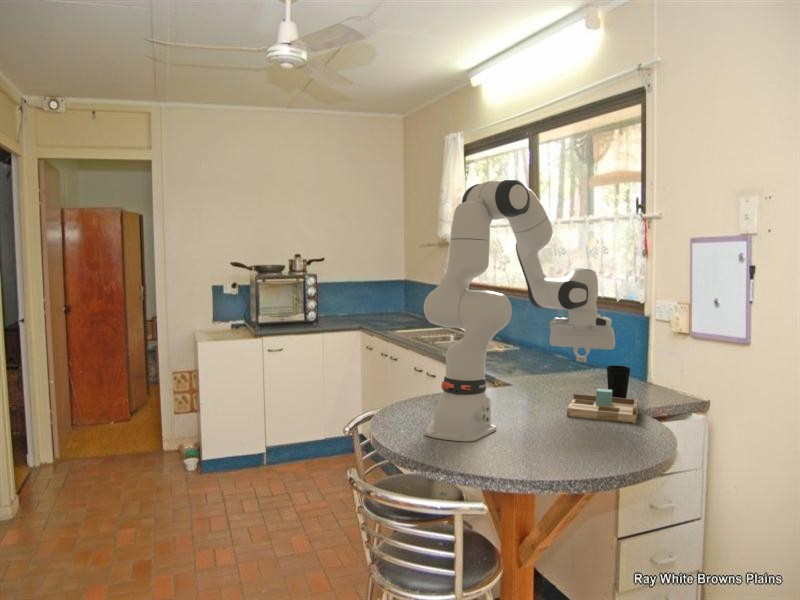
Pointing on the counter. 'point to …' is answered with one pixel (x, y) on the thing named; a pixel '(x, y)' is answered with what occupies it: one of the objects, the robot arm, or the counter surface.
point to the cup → (618, 380)
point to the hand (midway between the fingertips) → (581, 361)
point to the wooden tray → (603, 408)
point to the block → (604, 397)
